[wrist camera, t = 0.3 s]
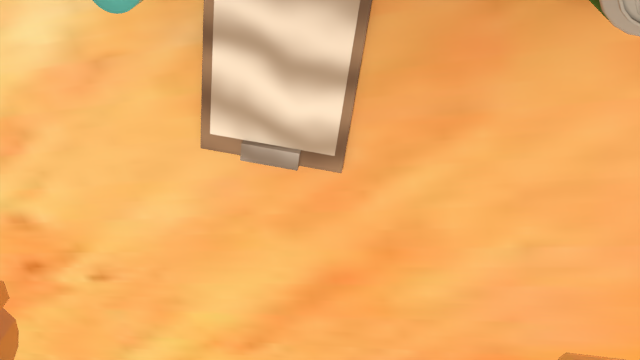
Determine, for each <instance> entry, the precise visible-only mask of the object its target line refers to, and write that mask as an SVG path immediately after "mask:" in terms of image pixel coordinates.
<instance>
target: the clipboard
mask: <svg viewBox="0 0 640 360" xmlns="http://www.w3.org/2000/svg"><path fill="white" fill-rule="evenodd" d="M371 3H372V0H204V18H203V63H202V109H201V148H203V149H209V150H214V151H220V152H225V153H231V154H237V155H241V157H240V160H241V161H247V162H253V163H258V164H264V165H269V166H275V167H281V168H286V169H292V170H298V167H299V166H304V167H310V168H315V169H321V170H326V171H332V172H338V173H342V168H343V162H344V157H345V151H346V145H347V140H348V134H349V128H350V122H351V117H352V111H353V105H354V100H355V94H356V88H357V83H358V77H359V71H360V66H361V60H362V54H363V49H364V43H365V37H366V32H367V26H368V20H369V14H370V9H371Z"/></svg>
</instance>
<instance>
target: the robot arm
mask: <svg viewBox="0 0 640 360" xmlns="http://www.w3.org/2000/svg"><path fill="white" fill-rule="evenodd" d="M8 299H9V296H8V293H7V290H6V287H5V284H4V282H3V281H0V360H14V357H15V354H16V351H17V348H18V334H19V331H18V327H17V324H16V320H15V319H14V318H13V317H12V316H11V315H10V314H9V313H8V312H7V311H6V310H5V309H4V308H3V306H4V305H5V303H6V302H7V301H8ZM558 360H624V359H616V358H608V357H599V356H591V355H582V354H574V353H565V354H563V355H562V356H561V357H559V359H558Z"/></svg>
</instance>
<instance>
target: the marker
mask: <svg viewBox="0 0 640 360" xmlns="http://www.w3.org/2000/svg"><path fill="white" fill-rule="evenodd" d="M93 1H94V2H95V3H96V4H97V5H98V6H99V7H100V8H102V9H103V10H105V11H108V12H111V13H117V14H118V13H124V12H127V11H129V10H130V9H132V8H133V7H135V6H136V5H138V4H139V3H140V2H142V1H143V0H93Z"/></svg>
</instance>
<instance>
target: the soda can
mask: <svg viewBox="0 0 640 360" xmlns="http://www.w3.org/2000/svg"><path fill="white" fill-rule="evenodd" d="M589 1H590V2H591V3H592V4H593V5H594V6H595V7H596V8H597V9H598V10H599V11H600V12H601V13H602V14H603V15H604V16H605V17H606V18H607V19H608V20H609V21H610V22H611V23H612V24H613V25H614V26H615V27H617V28H619V29H620V30H622V31H624V32H625V33H627V34H631V35H636V36H640V0H589Z"/></svg>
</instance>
